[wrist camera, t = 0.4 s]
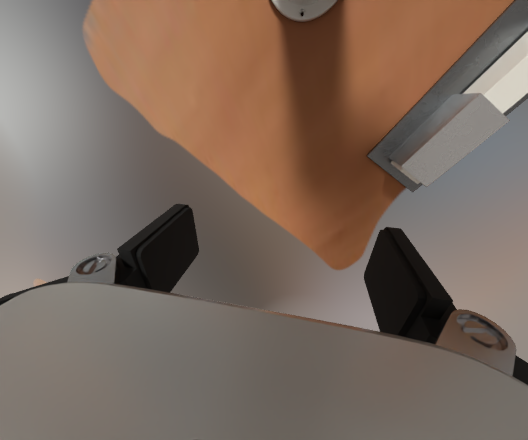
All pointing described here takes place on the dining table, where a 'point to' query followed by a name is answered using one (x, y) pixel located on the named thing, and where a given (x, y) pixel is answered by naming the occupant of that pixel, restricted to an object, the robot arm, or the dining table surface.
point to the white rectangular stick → (500, 82)
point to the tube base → (452, 109)
